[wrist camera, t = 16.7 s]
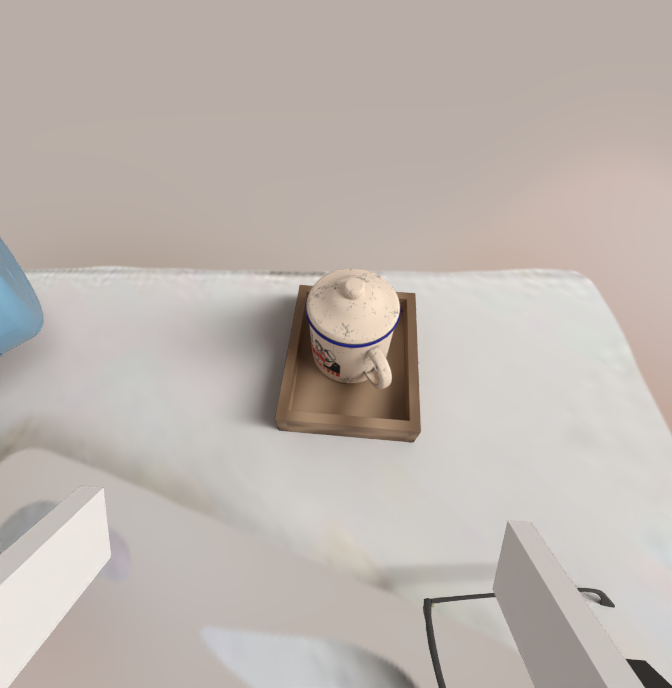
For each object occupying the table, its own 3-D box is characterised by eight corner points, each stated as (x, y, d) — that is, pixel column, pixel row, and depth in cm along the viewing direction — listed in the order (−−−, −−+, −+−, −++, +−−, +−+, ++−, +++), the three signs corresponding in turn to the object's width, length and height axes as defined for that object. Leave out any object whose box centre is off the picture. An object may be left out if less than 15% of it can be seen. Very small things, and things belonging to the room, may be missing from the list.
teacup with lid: (298, 335, 42) (287, 265, 32) (365, 309, 44) (375, 236, 34) (342, 423, 36) (345, 372, 26) (417, 388, 38) (446, 329, 29)
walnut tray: (279, 430, 37) (275, 419, 34) (301, 302, 46) (299, 285, 43) (413, 442, 36) (420, 432, 33) (409, 310, 45) (415, 293, 42)
